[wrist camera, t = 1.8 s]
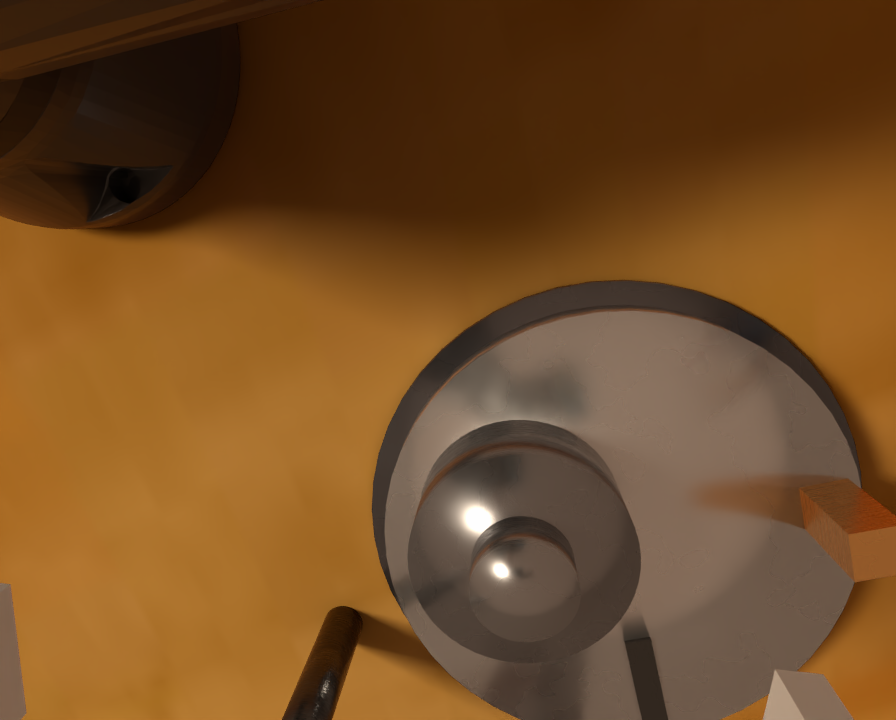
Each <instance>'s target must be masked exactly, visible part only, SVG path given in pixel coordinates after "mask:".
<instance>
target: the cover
mask: <svg viewBox="0 0 896 720" xmlns="http://www.w3.org/2000/svg"><path fill="white" fill-rule="evenodd" d="M407 558H408V570H409V575H410V579H411V584H412V587H413V589H414V592H415V595H416V597H417V599H418V601H419V603H420V604H421V606H422V608H423V610H424V611H425V612H426V614H427V615H428V616H429V618H430V619H431V620H432V621H433V623H434V624H435V625H436V626H437V627H438V628H439V629H440V630H441V631H442V632H444V633H445V634H446V635H447V636H448V637H450V638H451V639H452V640H454V641H455V642H457V643H458V644H460V645H461V646H463V647H465V648H467V649H469V650H471V651H473V652H475V653H477V654H480V655H483V656H486V657H489V658H492V659H497V660H501V661H506V662H514V663H539V662H548V661H553V660H557V659H562V658H565V657H567V656H570V655H573V654H576V653H578V652H580V651H582V650H584V649H586V648H588V647H590V646H591V645H593V644H594V643H596V642H597V641H599V640H600V639H602V638H603V637H604V636H605V635H606V634H608V633H609V632H610V631H611V630H612V629H613V628H614V627H615V626H616V624H617V623H618V622H619V621H620V620H621V619H622V617H623V616H624V614H625V613H626V611H627V610H628V608H629V606H630V604H631V602H632V600H633V598H634V596H635V593H636V589H637V586H638V583H639V577H640V571H641V552H640V544H639V539H638V536H637V533H636V529H635V526H634V524H633V522H632V519H631V517H630V514H629V512H628V510H627V507H626V505H625V502H624V500H623V498H622V495H621V493H620V490H619V488H618V486H617V483H616V481H615V479H614V477H613V474H612V472H611V471H610V469H609V467H608V466H607V464H606V463H605V461H604V460H603V459H602V458H601V456H600V455H599V454H598V453H597V452H596V451H595V450H594V449H593V448H592V447H591V446H590V445H589V444H587V443H586V442H585V441H583V440H582V439H581V438H579V437H578V436H576V435H575V434H573V433H571V432H569V431H567V430H565V429H563V428H560V427H557V426H554V425H552V424H548V423H543V422H539V421H531V420H507V421H501V422H495V423H491V424H488V425H484V426H482V427H479V428H477V429H475V430H472V431H470V432H469V433H467V434H465V435H463V436H462V437H460V438H459V439H457V440H456V441H455V442H454V443H452V444H451V445H450V446H449V447H448V448H447V449H446V450H445V451H444V452H443V453H442V454H441V455H440V456H439V458H438V459H437V461H436V462H435V463H434V465H433V466H432V468H431V470H430V472H429V474H428V476H427V478H426V481H425V484H424V487H423V490H422V494H421V497H420V501H419V504H418V508H417V512H416V515H415V519H414V522H413V526H412V529H411V534H410V538H409V543H408V557H407Z"/></svg>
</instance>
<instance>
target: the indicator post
mask: <svg viewBox="0 0 896 720" xmlns="http://www.w3.org/2000/svg"><path fill="white" fill-rule="evenodd" d="M362 625H363V624H362V619H361V617H360V615H359V614H358V613H357V612H356V611H355V610H353V609H351V608H349V607H344V606H340V607H336V608H333V609H332V610H330V611H329V612H328V614H327V616H326V618H325V620H324V623H323V625H322V627H321V630H320V632H319V634H318V637H317V639H316V641H315V644H314V646H313V648H312V651H311V653H310V655H309V658H308V660H307V662H306V665H305V667H304V669H303V672H302V674H301V676H300V679H299V681H298V683H297V686H296V688H295V690H294V693H293V695H292V697H291V700H290V702H289V704H288V707H287V709H286V711H285V714H284V716H283V718H282V720H332V718H333V715H334V712H335V709H336V706H337V703H338V700H339V697H340V694H341V691H342V688H343V685H344V682H345V679H346V676H347V673H348V670H349V666H350V663H351V660H352V657H353V654H354V651H355V648H356V645H357V642H358V639H359V636H360V633H361V630H362Z"/></svg>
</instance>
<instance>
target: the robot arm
mask: <svg viewBox="0 0 896 720" xmlns="http://www.w3.org/2000/svg"><path fill="white" fill-rule="evenodd" d="M318 1H322V0H0V216H2V217H5V218H8V219H11V220H14V221H17V222H21V223H25V224H29V225H35V226H41V227H47V228H56V229H85V228H103V227H113V226H120V225H125V224H129V223H133V222H136V221H139V220H142V219H144V218H147V217H149V216H151V215H154V214H156V213H158V212H159V211H161V210H163V209H165V208H166V207H168V206H170V205H171V204H173V203H174V202H175V201H177V200H178V199H179V198H181V197H182V196H183V195H184V194H185V193H186V192H187V191H189V190H190V189H191V188H192V187H193V186H194V185H195V184H196V182H197V181H198V180H199V179H200V178H201V177H202V175H203V174H204V173H205V172H206V170H207V169H208V168H209V166H210V165H211V163H212V162H213V160H214V159H215V157H216V155H217V153H218V151H219V150H220V148H221V146H222V143H223V141H224V139H225V137H226V134H227V132H228V129H229V126H230V124H231V120H232V117H233V113H234V109H235V105H236V100H237V94H238V87H239V76H240V49H239V37H238V30H237V24H236V23H237V22H241V21H245V20H249V19H253V18H256V17H260V16H264V15H268V14H272V13H276V12H279V11H283V10H287V9H291V8H295V7H299V6H303V5H306V4H310V3H314V2H318ZM25 714H26V706H25V698H24V690H23V682H22V674H21V666H20V658H19V650H18V642H17V634H16V625H15V617H14V609H13V601H12V593H11V585H10V584H3V583H0V720H21V719H22V717H23V716H24V715H25ZM763 720H854V719H853V718H852V716H851V715H850V713H849V712H848V710H847V709H846V707H845V706H844V704H843V703H842V702H841V700H840V699H839V697H838V696H837V694H836V693H835V691H834V690H833V688H832V687H831V685H830V684H829V682H828V681H827V679H826V678H825V676H824V675H823V674H815V673H806V672H797V671H788V670H779V669H775V672H774V676H773V680H772V684H771V688H770V693H769V697H768V701H767V705H766V709H765V714H764V718H763Z"/></svg>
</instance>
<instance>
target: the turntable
mask: <svg viewBox="0 0 896 720" xmlns="http://www.w3.org/2000/svg"><path fill="white" fill-rule="evenodd" d="M507 420H531V421H539V422H543V423H548V424H552V425H554V426H557V427H560V428H563V429H565V430H567V431H569V432H571V433H573V434H575V435H576V436H578V437H579V438H581V439H582V440H583V441H585V442H586V443H587V444H589V445H590V446H591V447H592V448H593V449H594V450H595V451H596V452H597V453H598V454H599V455H600V456H601V458H602V459H603V460H604V461H605V463H606V464H607V466H608V467H609V469H610V471H611V472H612V474H613V477H614V479H615V481H616V483H617V486H618V488H619V490H620V493H621V495H622V498H623V500H624V502H625V505H626V507H627V510H628V512H629V514H630V517H631V519H632V522H633V524H634V526H635V529H636V533H637V536H638V539H639V544H640V552H641V571H640V577H639V583H638V586H637V589H636V593H635V596H634V598H633V600H632V602H631V604H630V606H629V608H628V610H627V611H626V613H625V614H624V616H623V617H622V619H621V620H620V621H619V622H618V623H617V624H616V626H615V627H614V628H613V629H612V630H611V631H610V632H609V633H608V634H606V635H605V636H604V637H603V638H602V639H600V640H599V641H597V642H596V643H594V644H593V645H591V646H590V647H588V648H586V649H584V650H582V651H580V652H578V653H576V654H573V655H570V656H567V657H565V658H562V659H557V660H553V661H548V662H539V663H514V662H506V661H501V660H497V659H492V658H489V657H486V656H483V655H480V654H477V653H475V652H473V651H471V650H469V649H467V648H465V647H463V646H461V645H460V644H458V643H457V642H455V641H454V640H452V639H451V638H450V637H448V636H447V635H446V634H445V633H444V632H442V631H441V630H440V629H439V628H438V627H437V626H436V625H435V624H434V623H433V621H432V620H431V619H430V618H429V616H428V615H427V614H426V612H425V611H424V610H423V608H422V606H421V604H420V603H419V601H418V599H417V597H416V595H415V592H414V589H413V587H412V584H411V579H410V575H409V570H408V558H407V557H408V543H409V538H410V534H411V529H412V526H413V522H414V519H415V515H416V512H417V508H418V504H419V501H420V497H421V494H422V490H423V487H424V484H425V481H426V478H427V476H428V474H429V472H430V470H431V468H432V466H433V465H434V463H435V462H436V461H437V459H438V458H439V456H440V455H441V454H442V453H443V452H444V451H445V450H446V449H447V448H448V447H449V446H450V445H451V444H452V443H454V442H455V441H456V440H457V439H459V438H460V437H462V436H463V435H465V434H467V433H469V432H470V431H472V430H475V429H477V428H479V427H482V426H484V425H488V424H491V423H495V422H501V421H507ZM384 533H385V544H386V556H387V562H388V566H389V571H390V575H391V579H392V583H393V587H394V589H395V592H396V594H397V597H398V600H399V602H400V605H401V607H402V610H403V612H404V614H405V615H406V617H407V619H408V621H409V623H410V625H411V626H412V628H413V630H414V632H415V634H416V635H417V636H418V638H419V639H420V640H421V642H422V643H423V644H424V646H425V647H426V649H427V650H428V651H429V653H430V654H431V655H432V656H433V657H434V658H435V659H436V661H437V662H438V663H439V664H440V665H441V666H442V667H443V668H444V669H445V670H446V671H447V672H448V673H449V674H450V675H451V676H452V677H453V678H455V679H456V680H457V681H458V682H460V683H461V684H462V685H463V686H464V687H466V688H467V689H468V690H469V691H470V692H472V693H474V694H475V695H477V696H478V697H480V698H481V699H483V700H484V701H486V702H488V703H489V704H491V705H492V706H494V707H496V708H498V709H500V710H502V711H504V712H506V713H508V714H510V715H512V716H514V717H516V718H518V719H521V720H720V719H722V718H725V717H727V716H729V715H731V714H734V713H736V712H738V711H740V710H742V709H744V708H746V707H747V706H749V705H751V704H753V703H754V702H756V701H758V700H759V699H761V698H763V697H764V696H766V695H768V694H769V693H770V688H771V684H772V680H773V676H774V672H775V669H779V670H788V671H797V670H798V669H799V668H800V667H801V666H802V665H803V664H804V663H805V662H806V661H807V660H808V659H809V658H810V657H811V656H812V655H813V654H814V652H815V651H816V650H817V649H818V647H819V646H820V645H821V644H822V642H823V641H824V640H825V639H826V637H827V636H828V635H829V633H830V631H831V630H832V628H833V626H834V625H835V623H836V621H837V620H838V618H839V616H840V615H841V613H842V611H843V609H844V607H845V605H846V602H847V600H848V597H849V595H850V593H851V590H852V588H853V585H854V583H855V582H859V581H865V580H871V579H877V578H883V577H889V576H895V575H896V516H895V515H894V514H893V513H891V512H890V511H889V510H888V509H886V508H885V507H884V506H882V505H881V504H880V503H879V502H877V501H876V500H875V499H874V498H872V497H871V496H870V495H868V494H867V493H866V492H865V491H863V490H862V489H861V484H860V480H859V475H858V470H857V467H856V464H855V461H854V459H853V456H852V453H851V451H850V448H849V445H848V442H847V440H846V438H845V436H844V435H843V433H842V431H841V429H840V428H839V426H838V424H837V422H836V420H835V419H834V417H833V415H832V413H831V412H830V411H829V410H828V408H827V407H826V406H825V404H824V403H823V402H822V401H821V399H820V398H819V397H818V395H817V394H816V393H815V392H814V390H813V389H812V388H811V387H810V386H809V385H808V384H807V383H806V382H805V381H804V380H803V379H802V378H800V377H799V376H798V375H797V374H796V373H795V372H794V371H793V370H792V369H791V368H790V367H789V366H787V365H786V364H785V363H783V362H782V361H780V360H779V359H778V358H776V357H775V356H773V355H772V354H771V353H769V352H768V351H766V350H765V349H764V348H762V347H760V346H758V345H756V344H754V343H753V342H751V341H749V340H747V339H745V338H743V337H741V336H739V335H737V334H736V333H734V332H732V331H730V330H728V329H726V328H724V327H722V326H720V325H718V324H715V323H712V322H710V321H707V320H704V319H701V318H699V317H696V316H693V315H690V314H686V313H682V312H677V311H673V310H668V309H663V308H659V307H648V306H636V305H606V306H591V307H586V308H580V309H574V310H568V311H562V312H559V313H556V314H553V315H549V316H546V317H543V318H540V319H536V320H533V321H531V322H529V323H526V324H524V325H522V326H520V327H517V328H515V329H513V330H511V331H509V332H506V333H504V334H503V335H501V336H499V337H498V338H496V339H495V340H493V341H491V342H490V343H488V344H486V345H485V346H483V347H482V348H480V349H478V350H477V351H476V352H475V353H473V354H472V355H471V356H470V357H469V358H467V359H466V360H465V361H464V362H462V363H461V364H460V365H459V366H458V367H456V368H455V369H454V370H453V371H452V372H451V374H450V375H449V376H448V377H447V378H446V379H445V380H444V381H443V382H442V383H441V384H440V385H439V386H438V387H437V388H436V390H435V391H434V392H433V394H432V395H431V397H430V398H429V399H428V401H427V402H426V404H425V405H424V406H423V408H422V409H421V411H420V412H419V414H418V416H417V418H416V420H415V422H414V424H413V425H412V427H411V429H410V431H409V433H408V435H407V437H406V439H405V442H404V444H403V447H402V449H401V452H400V455H399V457H398V460H397V463H396V466H395V469H394V472H393V474H392V477H391V482H390V487H389V492H388V497H387V502H386V513H385V531H384Z"/></svg>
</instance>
